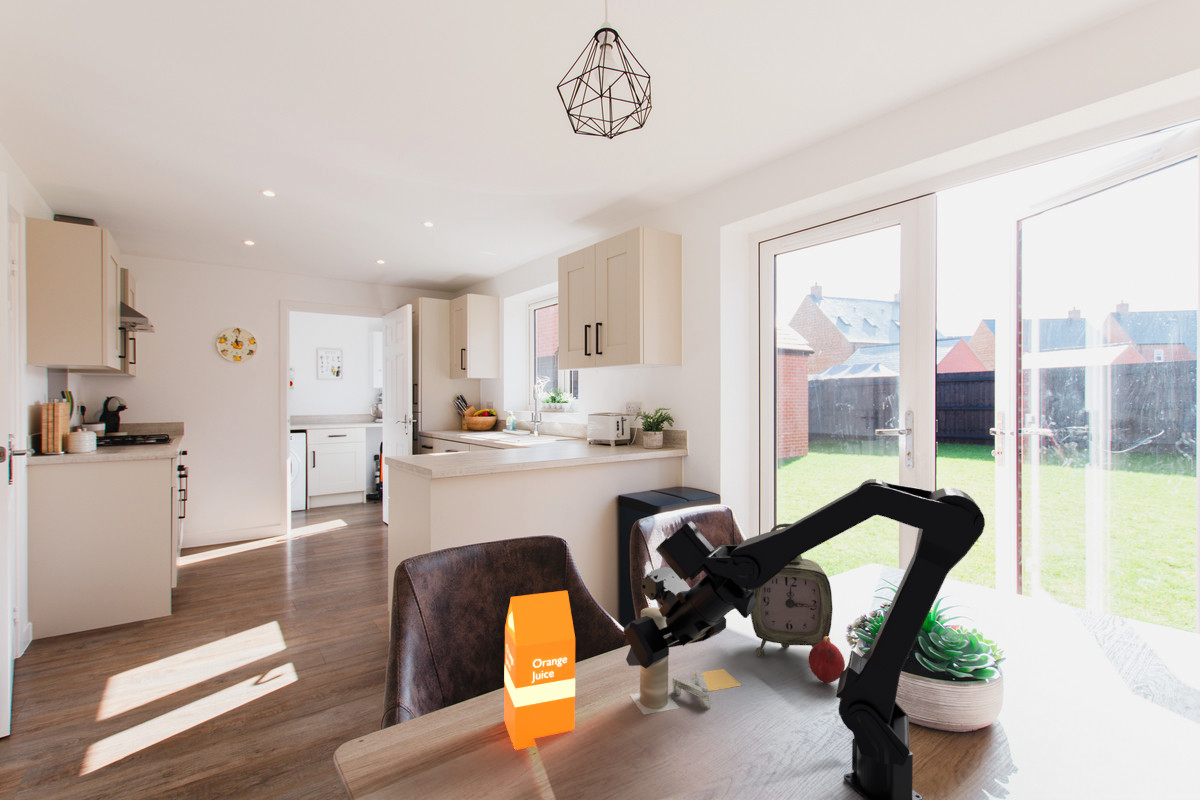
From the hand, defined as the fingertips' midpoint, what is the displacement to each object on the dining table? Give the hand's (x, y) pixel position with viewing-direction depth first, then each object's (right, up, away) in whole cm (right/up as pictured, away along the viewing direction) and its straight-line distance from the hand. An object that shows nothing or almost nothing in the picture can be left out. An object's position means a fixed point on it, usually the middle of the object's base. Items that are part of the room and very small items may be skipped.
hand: (648, 653), depth 90 cm
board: (+7, -8, 0) cm, 11 cm away
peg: (+1, -7, -1) cm, 7 cm away
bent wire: (+8, -7, 0) cm, 10 cm away
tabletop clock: (+28, -9, +19) cm, 35 cm away
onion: (+31, -9, +7) cm, 33 cm away
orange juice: (-17, -8, -7) cm, 20 cm away
